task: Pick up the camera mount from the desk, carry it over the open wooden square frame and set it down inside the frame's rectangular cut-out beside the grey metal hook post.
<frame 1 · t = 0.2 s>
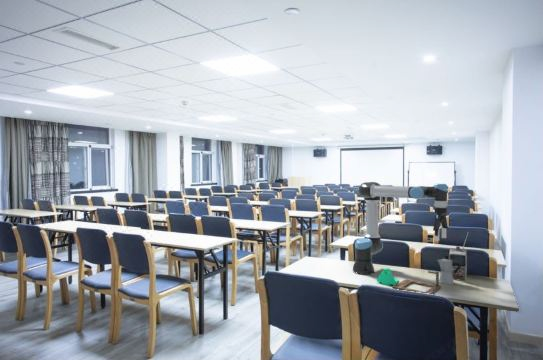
hand: (440, 239, 240), 28 cm above the table, tool pointing down, fingers open, 13 cm apart
camera mount: (388, 283, 237), on the table
portable television: (458, 277, 251), on the table
coffee maker: (448, 283, 236), on the table
open wooden square frame: (416, 288, 226), on the table
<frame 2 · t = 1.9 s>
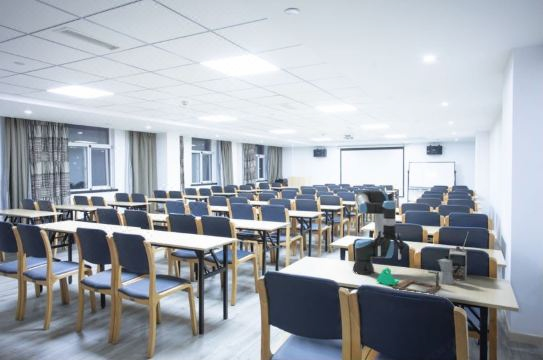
hand: (389, 257, 236), 17 cm above the table, tool pointing down, fingers open, 13 cm apart
nothing on the table moved.
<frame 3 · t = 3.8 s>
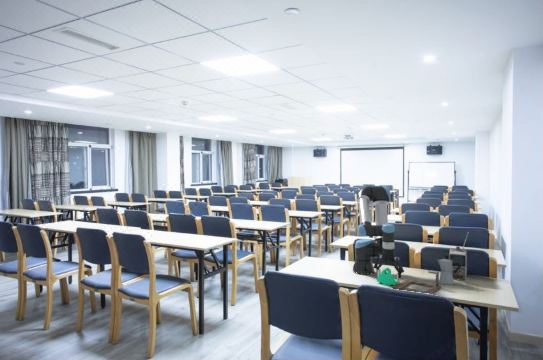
hand: (388, 281, 236), 1 cm above the table, tool pointing down, fingers open, 12 cm apart
camera mount: (388, 283, 236), on the table, touching gripper, open wooden square frame
everything else where it was.
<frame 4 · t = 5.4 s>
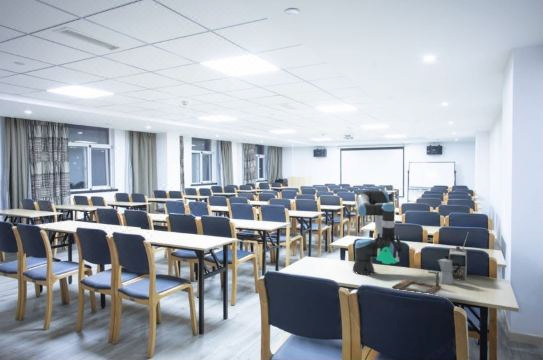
hand: (388, 259, 237), 15 cm above the table, tool pointing down, fingers closed on camera mount, 12 cm apart
camera mount: (387, 262, 236), point 13 cm above the table, touching gripper
everything else where it was.
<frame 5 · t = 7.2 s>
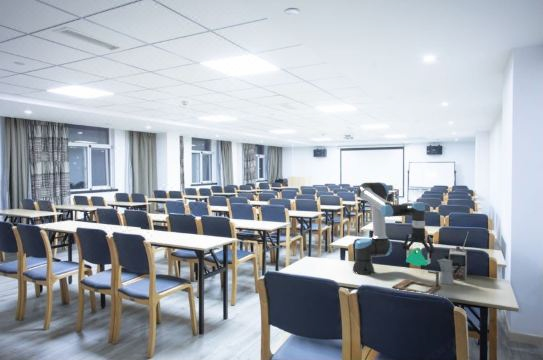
hand: (418, 262, 225), 16 cm above the table, tool pointing down, fingers closed on camera mount, 12 cm apart
camera mount: (417, 264, 225), point 15 cm above the table, touching gripper
everything else where it was.
when the fingers open (4 cm above the table, at t = 9.6 s): camera mount drops 3 cm, resting in open wooden square frame.
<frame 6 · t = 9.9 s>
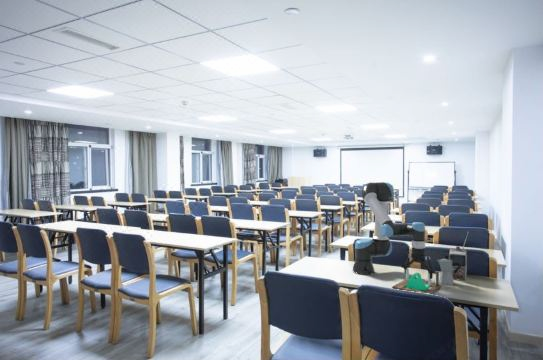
hand: (418, 281, 226), 4 cm above the table, tool pointing down, fingers open, 13 cm apart
camera mount: (417, 289, 225), resting in open wooden square frame
everything else where it was.
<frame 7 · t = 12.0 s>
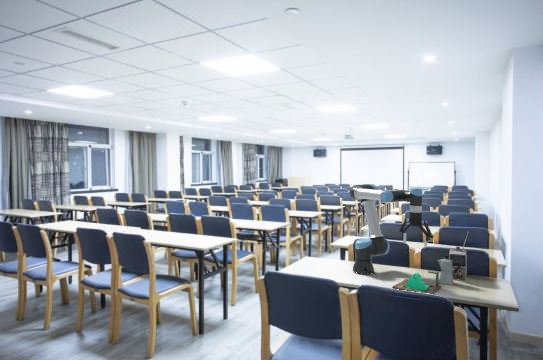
hand: (414, 244, 237), 25 cm above the table, tool pointing down, fingers open, 13 cm apart
nothing on the table moved.
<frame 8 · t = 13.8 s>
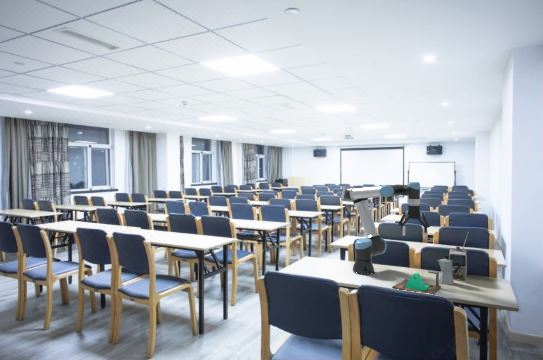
hand: (413, 236, 245), 29 cm above the table, tool pointing down, fingers open, 13 cm apart
nothing on the table moved.
at the end: camera mount 1.4 cm from the target spot on the open wooden square frame, point 0.0 cm above the open wooden square frame's base; camera mount tilted 0°; the gripper is holding nothing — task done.
